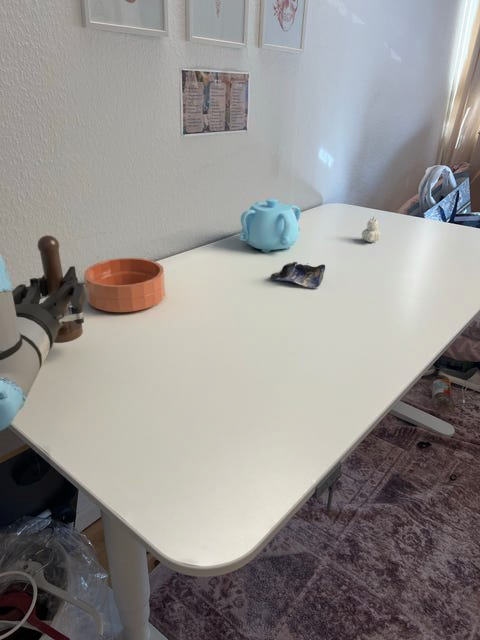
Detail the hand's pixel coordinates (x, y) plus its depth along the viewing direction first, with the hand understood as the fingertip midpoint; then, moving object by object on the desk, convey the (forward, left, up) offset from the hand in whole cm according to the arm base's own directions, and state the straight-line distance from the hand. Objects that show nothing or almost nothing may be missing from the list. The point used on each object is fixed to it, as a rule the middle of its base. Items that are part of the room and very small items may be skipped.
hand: (63, 273), depth 84 cm
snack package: (+41, +35, -13) cm, 56 cm away
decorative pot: (+33, +61, -13) cm, 70 cm away
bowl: (+4, +19, -13) cm, 23 cm away
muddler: (+1, -5, -9) cm, 11 cm away
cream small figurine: (+63, +70, -13) cm, 95 cm away
